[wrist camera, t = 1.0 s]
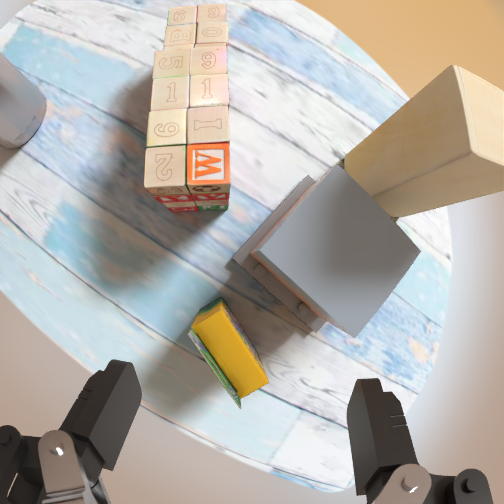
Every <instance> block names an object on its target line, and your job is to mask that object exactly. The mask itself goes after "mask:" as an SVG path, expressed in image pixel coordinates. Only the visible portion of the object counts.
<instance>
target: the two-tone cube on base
mask: <svg viewBox="0 0 504 504" xmlns="http://www.w3.org/2000/svg"><path fill="white" fill-rule="evenodd" d="M420 252H421V251H420V250H419V249H418V247H417V246H416V245H415V244H414V243H413V242H412V241H411V239H410V238H409V237H408V236H407V235H406V234H405V233H404V231H403V230H402V229H401V228H400V227H399V226H398V225H397V224H396V223H395V222H394V220H393V219H392V218H391V217H390V216H389V215H388V214H387V213H386V212H385V211H384V210H383V209H382V208H381V207H380V205H379V204H378V203H377V202H376V201H375V200H374V199H373V198H372V197H371V196H370V195H369V194H368V193H367V192H366V191H365V190H364V189H363V188H362V187H361V186H360V185H359V184H358V183H357V182H356V181H355V180H354V179H353V178H352V177H351V176H350V175H349V174H348V173H347V172H346V171H345V170H344V169H343V168H342V167H341V166H339V165H338V164H336V165H335V166H334V167H333V168H332V169H330V170H329V171H328V172H327V173H326V174H325V175H324V176H322V177H321V178H320V179H319V180H318V181H317V182H315V181H314V180H313V179H312V178H311V177H310V176H309V175H307V176H306V177H305V178H304V180H303V181H302V182H301V183H300V184H299V185H298V186H297V187H296V188H295V189H294V190H293V191H292V193H291V194H290V195H289V196H288V197H287V198H286V199H285V200H284V201H283V202H282V203H281V205H280V206H279V207H278V208H277V209H276V210H275V211H274V212H273V213H272V214H271V215H270V217H269V218H268V219H267V220H266V221H265V222H264V223H263V224H262V225H261V226H260V228H259V229H258V230H257V231H256V232H255V233H254V234H253V235H252V236H251V237H250V238H249V240H248V241H247V242H246V243H245V244H244V245H243V246H242V247H241V248H240V249H239V251H238V252H237V253H236V254H235V255H234V256H233V257H232V258H233V259H234V260H235V261H236V262H237V263H238V264H239V265H240V266H241V267H243V268H244V269H245V270H246V271H247V272H248V273H249V274H250V275H251V276H253V277H254V278H255V279H256V280H257V281H258V282H259V283H260V284H261V285H263V286H264V287H265V288H266V289H267V290H268V291H269V292H270V293H271V294H273V295H274V296H275V297H276V298H277V299H278V300H279V301H280V302H282V303H283V304H284V305H285V306H286V307H287V308H288V309H289V310H291V311H292V312H293V313H294V314H295V315H296V316H297V317H298V318H300V319H301V320H302V321H303V322H304V323H305V324H306V325H307V326H309V327H310V328H311V329H312V330H313V331H314V332H317V331H318V330H319V329H320V328H321V327H322V326H323V325H324V323H325V322H326V321H327V322H329V323H330V324H332V325H334V326H336V327H337V328H339V329H341V330H342V331H344V332H346V333H347V334H349V335H351V336H352V337H354V338H356V336H357V335H358V334H359V333H360V332H361V330H362V329H363V328H364V327H365V326H366V324H367V323H368V322H369V321H370V319H371V318H372V317H373V316H374V314H375V313H376V312H377V311H378V309H379V308H380V307H381V305H382V304H383V303H384V302H385V300H386V299H387V298H388V296H389V295H390V294H391V292H392V291H393V290H394V288H395V287H396V286H397V284H398V283H399V282H400V280H401V279H402V277H403V276H404V275H405V273H406V272H407V271H408V269H409V268H410V266H411V265H412V263H413V262H414V261H415V259H416V258H417V256H418V255H419V253H420Z"/></svg>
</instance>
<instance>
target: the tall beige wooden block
mask: <svg viewBox="0 0 504 504" xmlns="http://www.w3.org/2000/svg"><path fill="white" fill-rule="evenodd" d="M344 170H345V171H346V172H347V173H348V174H349V175H350V176H351V177H352V178H353V179H354V180H355V181H356V182H357V183H358V184H359V185H360V186H361V187H362V188H363V189H364V190H365V191H366V192H367V193H368V194H369V195H370V196H371V197H372V198H373V199H374V200H375V201H376V202H377V203H378V204H379V205H380V207H381V208H382V209H383V210H384V211H385V212H386V213H387V214H388V215H389V216H391V217H405V216H409V215H412V214H416V213H420V212H424V211H428V210H432V209H436V208H439V207H443V206H447V205H451V204H454V203H458V202H462V201H466V200H469V199H473V198H477V197H481V196H485V195H489V194H493V193H496V192H500V191H504V91H502V90H500V89H499V88H497V87H496V86H494V85H492V84H490V83H488V82H487V81H485V80H483V79H481V78H480V77H478V76H476V75H474V74H472V73H470V72H468V71H466V70H465V69H463V68H461V67H458V66H455V65H451V66H449V67H448V68H447V69H445V70H444V71H443V72H442V73H441V74H439V75H438V76H437V77H436V78H435V79H434V80H433V81H431V82H430V83H429V84H428V85H427V86H426V87H424V88H423V89H422V90H421V91H420V92H418V93H417V94H416V95H415V96H414V97H413V98H411V99H410V100H409V101H408V102H407V103H406V104H404V105H403V106H402V107H401V108H400V109H399V110H398V111H397V112H395V113H394V114H393V115H392V116H391V117H390V118H388V119H387V120H386V121H385V122H384V123H383V124H381V125H380V126H379V127H378V128H377V129H376V130H375V131H373V132H372V133H371V134H370V135H369V136H368V137H366V138H365V139H364V140H363V141H362V142H361V143H359V144H358V145H357V146H356V147H355V148H354V149H352V150H351V151H350V152H349V153H348V154H347V155H345V159H344Z"/></svg>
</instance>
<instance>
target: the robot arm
mask: <svg viewBox="0 0 504 504" xmlns="http://www.w3.org/2000/svg"><path fill="white" fill-rule="evenodd" d="M45 111H46V99H45V97H44V95H43V94H42V93H41V92H40V91H39V90H38V89H37V88H36V87H35V86H34V85H33V84H32V83H31V82H30V81H29V80H28V79H27V78H26V77H25V76H24V75H23V74H22V73H21V72H20V71H19V70H18V69H17V68H16V67H15V66H14V65H13V64H12V63H11V62H10V61H9V60H8V59H7V58H6V57H5V56H4V55H3V54H2V53H1V52H0V145H1V146H3V147H5V148H8V149H14V148H17V147H20V146H21V145H23V144H25V143H26V142H27V141H28V140H29V139H30V138H31V137H32V136H33V135H34V134H35V132H36V131H37V130H38V128H39V126H40V124H41V123H42V120H43V118H44V115H45ZM141 398H142V392H141V387H140V384H139V381H138V378H137V375H136V372H135V369H134V366H133V364H132V363H130V362H125V361H120V360H114V359H113V360H111V361H110V362H109V364H108V365H107V367H106V369H105V370H104V371H101V370H99V371H98V372H96V373H95V374H94V375H93V376H91V377H90V378H89V379H88V381H87V383H86V384H85V386H84V388H83V390H82V391H81V393H80V394H79V396H78V399H76V401H75V403H74V404H73V406H72V408H71V409H70V411H69V413H68V415H67V417H66V418H65V420H64V422H63V423H62V425H61V427H60V428H59V429H58V430H52V431H49V432H47V433H46V434H44V435H43V436H42V437H32V436H22V435H21V434H20V433H19V431H18V430H17V429H16V428H15V427H13V426H10V425H5V426H1V427H0V504H111V502H110V500H109V497H108V495H107V492H106V490H105V487H104V484H103V481H102V478H101V477H100V473H101V470H102V468H104V469H108V470H111V471H113V469H114V466H115V464H116V461H117V459H118V456H119V454H120V451H121V449H122V446H123V444H124V441H125V439H126V437H127V434H128V432H129V429H130V427H131V424H132V422H133V420H134V417H135V415H136V412H137V410H138V408H139V406H140V403H141ZM347 424H348V431H349V438H350V445H351V452H352V460H353V468H354V476H355V485H356V494H357V496H358V495H366V497H367V503H366V504H493V500H492V496H491V492H490V488H489V484H488V481H487V478H486V476H485V475H484V474H483V473H482V472H481V471H479V470H477V469H466V470H464V471H462V472H461V473H459V474H458V475H457V476H441V475H433V474H430V473H428V471H427V470H426V469H425V468H423V467H422V466H420V465H419V463H418V462H417V458H416V455H415V451H414V448H413V444H412V440H411V436H410V433H409V429H408V426H406V424H407V423H406V419H405V416H404V413H403V409H402V406H401V403H400V401H399V400H398V399H397V398H396V396H395V395H394V394H393V393H392V392H383V389H382V386H381V382H380V380H379V379H378V378H371V379H357V381H356V383H355V386H354V389H353V392H352V395H351V398H350V401H349V404H348V407H347ZM16 473H18V475H17V477H16V479H15V481H14V484H13V486H12V488H11V491H10V493H9V495H8V498H7V494H8V490H9V489H10V487H11V484H12V482H13V480H14V477H15V475H16Z"/></svg>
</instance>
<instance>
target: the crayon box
mask: <svg viewBox="0 0 504 504" xmlns="http://www.w3.org/2000/svg"><path fill="white" fill-rule="evenodd" d="M188 336H189V337H190V339H191V340H192V342H193V343H194V345H195V346H196V348H197V349H198V350H199V352H200V353H201V355H202V356H203V358H204V359H205V361H206V362H207V364H208V365H209V366H210V368H211V369H212V371H213V372H214V374H215V375H216V376H217V378H218V379H219V381H220V382H221V383H222V385H223V386H224V388H225V389H226V390H227V392H228V393H229V394H230V396H231V397H232V398H233V400H234V401H235V402H236V404H237V405H238V407H239V408H240V409H241V402H240V399H241V398H243V397H245V396H247V395H249V394H250V393H252V392H254V391H255V390H257V389H259V388H260V387H262V386H264V385H266V384H268V383H269V381H268V379H267V376H266V374H265V371H264V369H263V366H262V363H261V361H260V358H259V355H258V353H257V351H256V349H255V348H254V346H253V345H252V343H251V341H250V340H249V338H248V337H247V335H246V334H245V332H244V331H243V329H242V327H241V326H240V324H239V323H238V321H237V320H236V318H235V317H234V315H233V314H232V312H231V310H230V309H229V307H228V306H227V304H226V302H225V301H224V299H223V298H222V297H220V298H218V299H216V300H215V301H213V302H211V303H210V304H208V305H206V306H205V307H203V308H201V309H200V310H199V313H198V314H197V316H196V318H195V321H194V323H193V324H192V326H191V330H190V331H189V333H188ZM205 354H206V355H207V356H206V355H205ZM207 357H208V358H209V359H208V358H207ZM209 360H210V361H211V362H210V361H209ZM211 363H212V364H213V365H214V366H215V368H216V369H217V371H218V372H219V374H220V375H219V374H218V373H217V372H216V370H215V369H214V367H213V365H212V364H211ZM220 376H221V377H222V378H223V379H222V378H221V377H220ZM223 380H224V381H225V382H224V381H223ZM225 383H226V384H225Z"/></svg>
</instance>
